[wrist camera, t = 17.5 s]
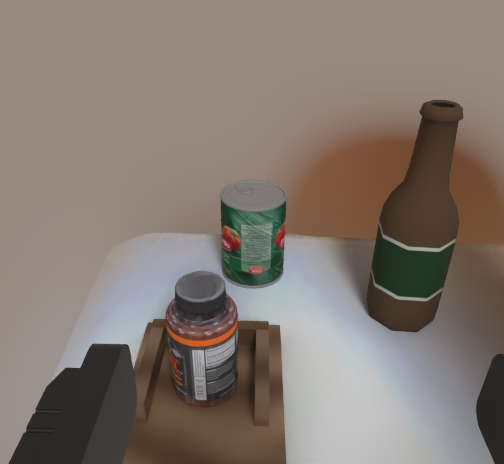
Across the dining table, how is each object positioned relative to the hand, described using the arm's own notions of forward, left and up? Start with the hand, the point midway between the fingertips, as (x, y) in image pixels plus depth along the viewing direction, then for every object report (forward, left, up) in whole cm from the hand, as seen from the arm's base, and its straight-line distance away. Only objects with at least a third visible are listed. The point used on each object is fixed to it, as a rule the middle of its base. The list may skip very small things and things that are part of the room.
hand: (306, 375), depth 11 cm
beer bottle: (-37, -11, -28) cm, 47 cm away
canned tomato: (-32, -29, -28) cm, 51 cm away
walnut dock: (-14, -19, -27) cm, 36 cm away
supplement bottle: (-14, -19, -26) cm, 35 cm away
